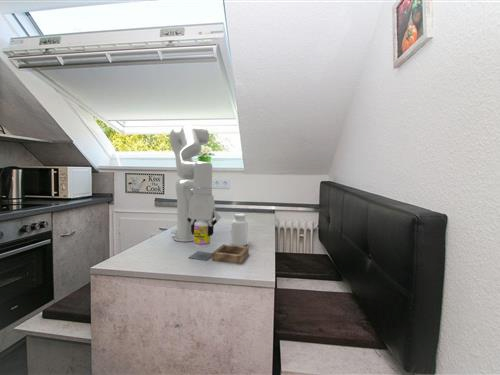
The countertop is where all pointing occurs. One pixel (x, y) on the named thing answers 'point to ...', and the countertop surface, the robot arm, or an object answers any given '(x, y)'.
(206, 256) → the mat
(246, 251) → the block
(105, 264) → the countertop surface
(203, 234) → the supplement bottle
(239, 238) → the pill bottle
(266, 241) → the countertop surface
